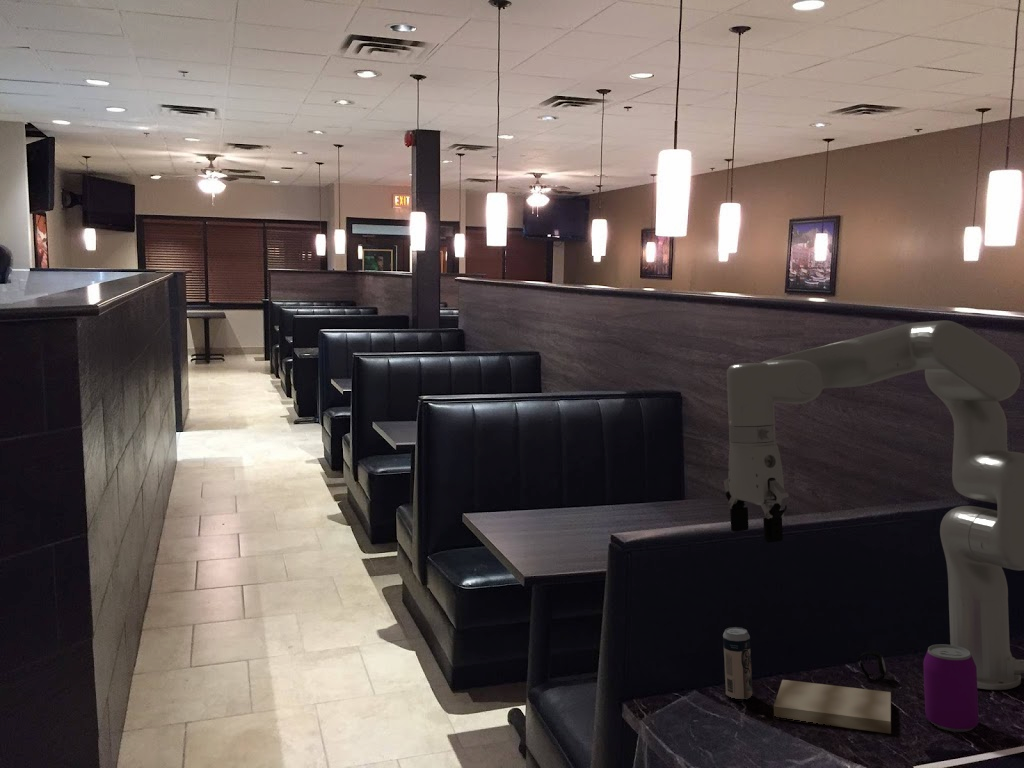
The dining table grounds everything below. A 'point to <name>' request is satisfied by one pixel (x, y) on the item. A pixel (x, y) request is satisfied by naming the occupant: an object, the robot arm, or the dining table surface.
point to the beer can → (737, 663)
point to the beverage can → (950, 688)
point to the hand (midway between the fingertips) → (756, 535)
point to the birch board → (834, 705)
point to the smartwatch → (879, 659)
